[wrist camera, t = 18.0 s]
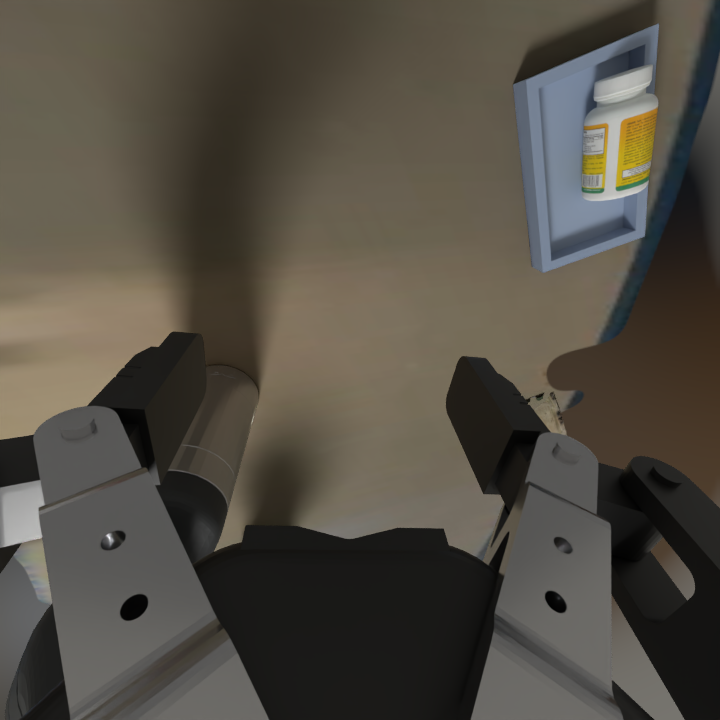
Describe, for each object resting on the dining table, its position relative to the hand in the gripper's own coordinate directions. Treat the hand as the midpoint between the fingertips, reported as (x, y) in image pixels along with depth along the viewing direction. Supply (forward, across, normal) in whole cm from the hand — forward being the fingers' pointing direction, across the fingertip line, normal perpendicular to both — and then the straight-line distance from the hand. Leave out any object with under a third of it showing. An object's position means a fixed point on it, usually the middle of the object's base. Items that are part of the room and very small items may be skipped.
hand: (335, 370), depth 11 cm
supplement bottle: (+27, +27, +6) cm, 39 cm away
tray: (+30, +24, +8) cm, 40 cm away
